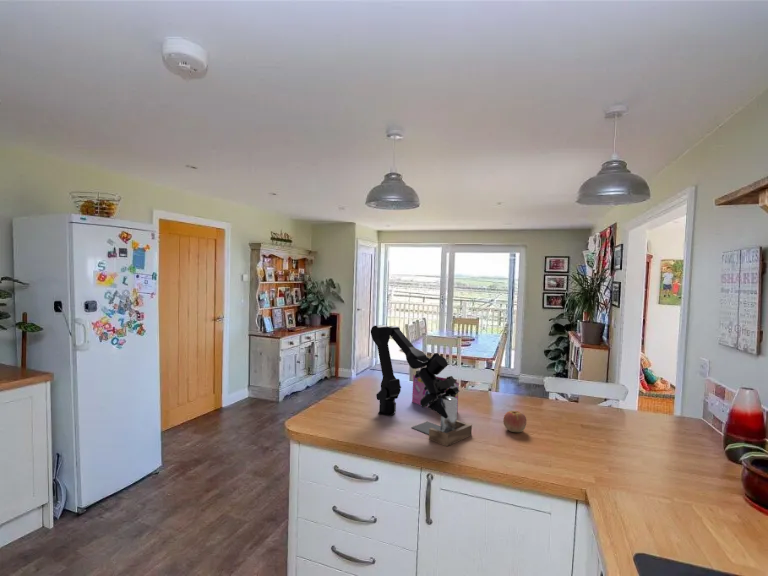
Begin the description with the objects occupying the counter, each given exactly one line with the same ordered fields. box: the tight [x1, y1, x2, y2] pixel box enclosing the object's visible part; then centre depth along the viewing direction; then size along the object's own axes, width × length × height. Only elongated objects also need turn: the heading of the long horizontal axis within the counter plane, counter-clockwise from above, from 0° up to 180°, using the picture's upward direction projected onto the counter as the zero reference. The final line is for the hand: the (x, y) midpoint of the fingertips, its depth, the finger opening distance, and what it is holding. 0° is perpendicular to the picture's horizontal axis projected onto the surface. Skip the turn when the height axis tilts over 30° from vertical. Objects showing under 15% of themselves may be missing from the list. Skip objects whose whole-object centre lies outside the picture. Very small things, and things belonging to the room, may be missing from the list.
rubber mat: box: [410, 421, 441, 436], centre depth 161 cm, size 10×10×1 cm
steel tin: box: [439, 396, 459, 433], centre depth 154 cm, size 6×6×13 cm
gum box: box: [411, 374, 460, 412], centre depth 189 cm, size 24×8×14 cm, turn 40°
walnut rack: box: [428, 419, 473, 447], centre depth 154 cm, size 8×16×4 cm, turn 135°
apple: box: [502, 410, 527, 433], centre depth 162 cm, size 9×9×8 cm
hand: (451, 416), depth 153 cm, fingers closed on steel tin, 6 cm apart
